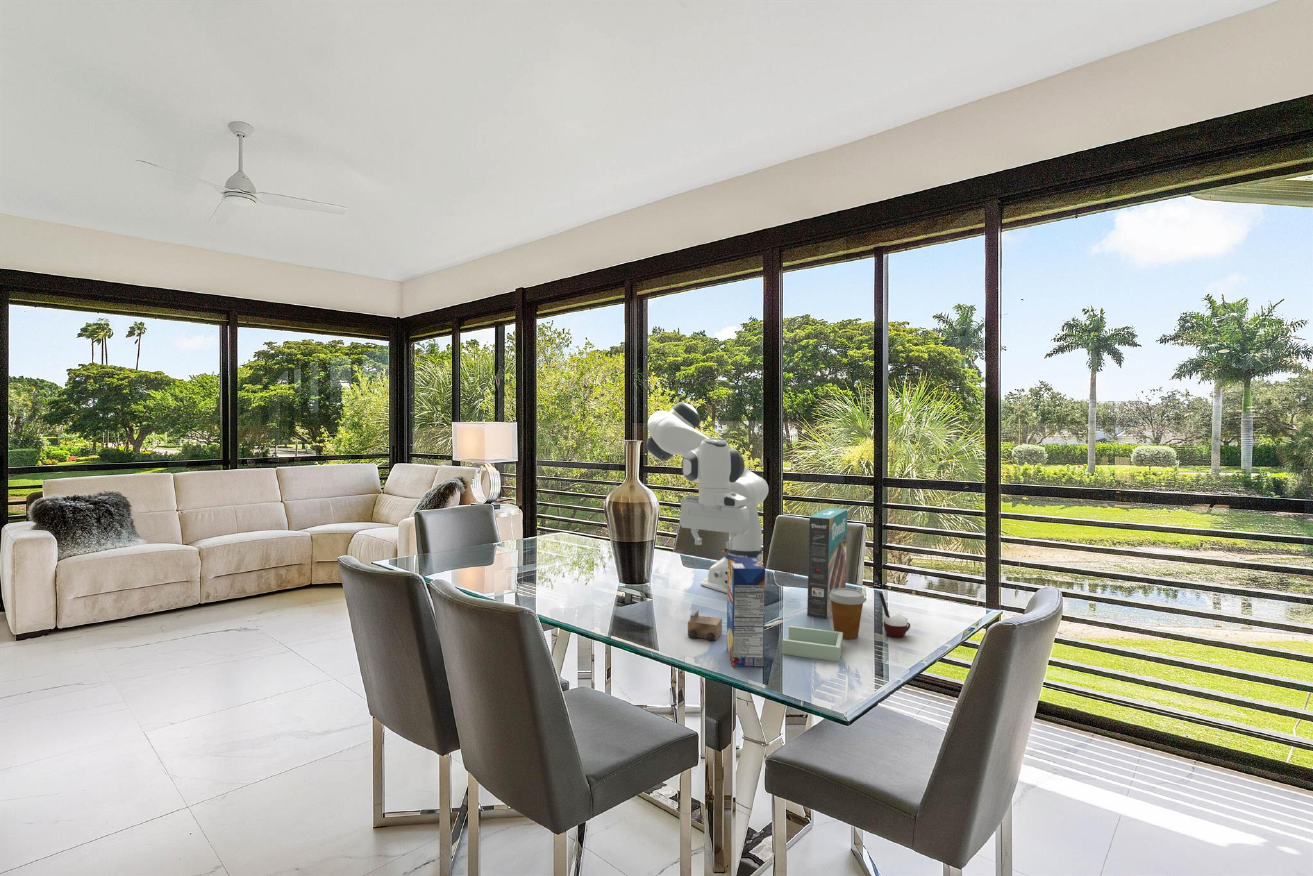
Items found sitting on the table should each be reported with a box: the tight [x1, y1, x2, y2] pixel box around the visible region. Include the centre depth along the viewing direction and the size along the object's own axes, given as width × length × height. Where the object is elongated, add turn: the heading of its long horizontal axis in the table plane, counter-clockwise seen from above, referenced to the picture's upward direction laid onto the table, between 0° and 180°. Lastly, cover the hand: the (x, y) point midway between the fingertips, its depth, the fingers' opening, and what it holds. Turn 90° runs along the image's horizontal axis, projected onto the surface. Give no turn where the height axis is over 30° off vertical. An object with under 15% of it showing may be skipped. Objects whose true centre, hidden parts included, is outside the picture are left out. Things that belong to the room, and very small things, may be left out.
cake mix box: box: [806, 507, 849, 620], centre depth 204 cm, size 22×6×30 cm, turn 150°
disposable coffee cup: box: [829, 587, 866, 640], centre depth 180 cm, size 10×10×12 cm
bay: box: [781, 625, 844, 663], centre depth 169 cm, size 14×12×4 cm
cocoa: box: [878, 592, 911, 639], centre depth 180 cm, size 10×6×12 cm, turn 81°
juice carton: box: [726, 557, 766, 669], centre depth 162 cm, size 12×8×24 cm, turn 0°
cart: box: [687, 609, 723, 642], centre depth 179 cm, size 8×8×6 cm
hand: (713, 546), depth 183 cm, fingers open, 8 cm apart
